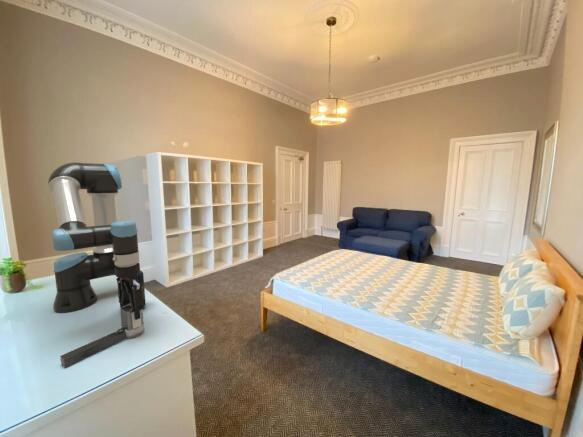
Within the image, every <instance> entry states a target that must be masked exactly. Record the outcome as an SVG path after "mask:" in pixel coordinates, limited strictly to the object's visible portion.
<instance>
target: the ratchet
mask: <svg viewBox="0 0 583 437" xmlns="http://www.w3.org/2000/svg"><path fill="white" fill-rule="evenodd" d="M144 324H145V323H144V321H143V325H141V326H139V327H137V328H134V329H131V330H126V329H125V328H123V327H122V326H121V328H119V329H117V330H116V331H114V332H111V333H110V334H107V335H105V336H103V337H100V338H98V339H96V340H93V341H91V342H89V343H87V344H84V345H82V346H79V347H78V348H75V349H73V350H70V351H68V352H66V353H63V354H61V355H60V363H61V366H62V367H63V368H64V369H66V368H68V367H71V366H72V365H75V364H78V363H79V362H81V361H83V360H86V359H88V358H90V357H92V356H94V355H96V354H98V353H100V352H102V351H104V350H106V349H108V348H111V347H112V346H115V345H117V344H118V343H121V342H123V341H125V340H131V339H136V338H137V337H140V336H141V335H143V334H144V333H145V325H144Z"/></svg>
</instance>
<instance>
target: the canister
mask: <svg viewBox="0 0 583 437" xmlns="http://www.w3.org/2000/svg"><path fill="white" fill-rule="evenodd" d="M136 278H137V282H138V283H142V297H143V307H144V308H145V307H146V293H145V292H146V290H145V278H144V272H143V270H140V273H139V274H137V275H136ZM132 290H133V289H132ZM129 304H131V303H129ZM122 307H123V306H122V305H121V303H119V309H120V308H122Z"/></svg>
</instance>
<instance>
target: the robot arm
mask: <svg viewBox="0 0 583 437" xmlns="http://www.w3.org/2000/svg"><path fill="white" fill-rule="evenodd" d="M118 169H119V168H117V166H116V165H114V164H110V163H109V164H108V163H107V164H106V163H93V162H92V163H90V162H68V163H65V164H63V165H60V166H58V167H57V168H55V169H54V170H53V171H52V172H51V174H50V176H49V178H48V188H49V190H50V192H52V193H53V199H54V205H55V211H56V218H57V226H58V229H53V230H52V231H51V237H52V246H53V250H54V251H56V252H67V251H68V252H69V251H74V250H75V251H76V250H82V249H88V248H89V249H90V248H94V249H93V250H92V254H88V253H87V252H85V251H83V252H75V253H72V254H68V255H65V256H62V257H60V258H57V259H55V261H54V262H53V273H54V279H55V288H56V295H55V298H54V300H53V301H54V302H53V305H52V307H53V312H55V313H62V314H63V313H69V312H70V313H71V312H75V311H79V310H80V311H81V310H82V309H85V308H88V307H90V306H92V305H94V304H95V303H97V301H98V296H97V293H96V292H95V290H94V289H93V286H92V284H91V280H97V279H101V278H106V277H111V276H115V277H116V278H115V279H116V283H117V295H118V303H119V304H120V303H121V305H122V306H123V307H125V306H128V305H131V307H132V311H130V312H131V317H132V328H133V329H134V328H137V327H139V326H141V315H140V310H142V309H143V310H144V308H145V307H143V297H142V283H138V282H137V278H136V275H137V274H139V273H140V271H141V264H140V252H139V243H138V229H137V223H136V222H135V221H134V220H120V221H119V220H118V221H117V210H116V200H115V198H116V196H117V195H118V194H119V190H122V188H123V187H122V184H123V183H122V178H121V175H120V172H119V170H118ZM81 190H86V193H87V195H89V196H90V197H91V203H92V212H93V214H92V215H93V221H94V222H93V224H94V225H92V226H87V222H86V218H85V214H84V209H83V205H82V204H83V203H82V200H81V196H80V192H79V191H81ZM132 289H133V290H132ZM129 303H131V304H129Z"/></svg>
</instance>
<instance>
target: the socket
mask: <svg viewBox="0 0 583 437" xmlns="http://www.w3.org/2000/svg"><path fill="white" fill-rule="evenodd" d="M119 310H120V312H119V314H120V326H121V328H122V327H123V328H125V329H126V330H131V329H133V328H132V317H131V312H130V311H132V307H131V305H128V306H125V307H122V308H120V307H119ZM143 310H144V308H143V309H142V310H140V315H141V325H143V322H144V316H143V315H144V311H143Z"/></svg>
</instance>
